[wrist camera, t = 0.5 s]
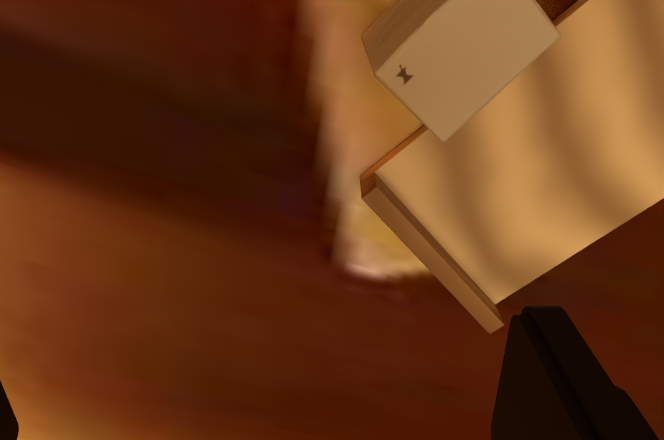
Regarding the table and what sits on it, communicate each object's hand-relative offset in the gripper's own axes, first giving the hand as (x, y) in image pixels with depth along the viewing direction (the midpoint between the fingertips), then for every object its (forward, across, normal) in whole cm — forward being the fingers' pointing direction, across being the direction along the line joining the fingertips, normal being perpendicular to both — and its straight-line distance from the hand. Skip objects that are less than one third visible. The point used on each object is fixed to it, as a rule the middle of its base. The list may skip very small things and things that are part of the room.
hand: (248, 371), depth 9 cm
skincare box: (+25, -6, -4) cm, 26 cm away
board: (+25, -17, +4) cm, 30 cm away
